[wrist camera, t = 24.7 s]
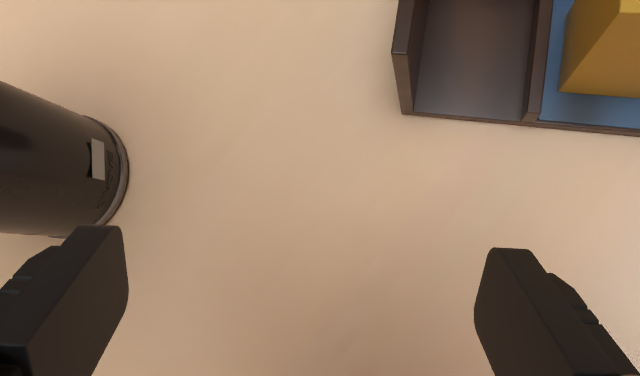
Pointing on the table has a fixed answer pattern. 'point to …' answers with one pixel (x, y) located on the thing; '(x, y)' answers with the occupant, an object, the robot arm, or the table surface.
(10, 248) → the table surface
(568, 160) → the table surface
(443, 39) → the tray
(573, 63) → the parcel
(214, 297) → the table surface
